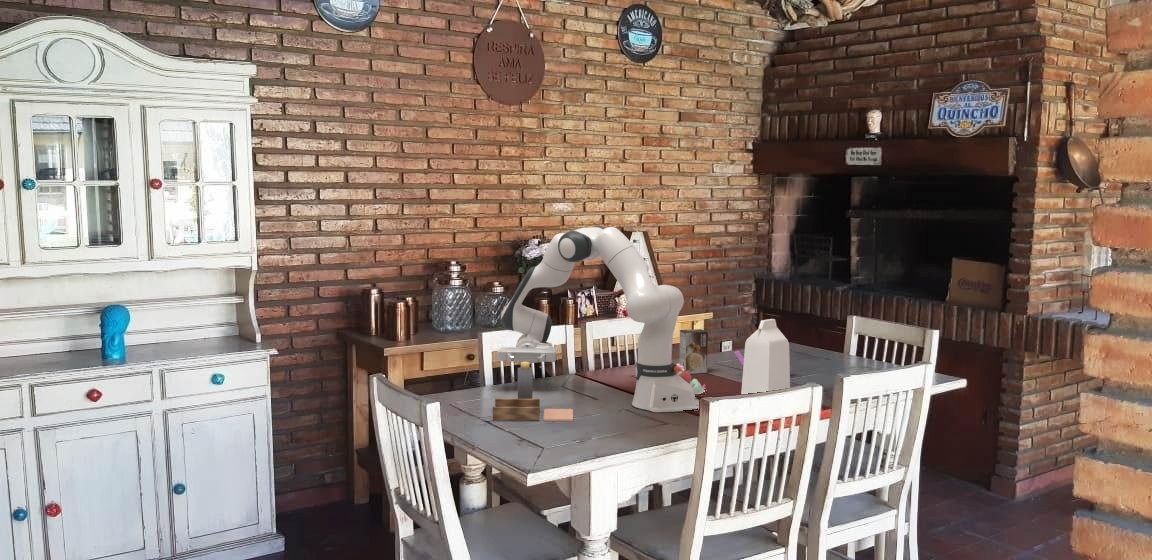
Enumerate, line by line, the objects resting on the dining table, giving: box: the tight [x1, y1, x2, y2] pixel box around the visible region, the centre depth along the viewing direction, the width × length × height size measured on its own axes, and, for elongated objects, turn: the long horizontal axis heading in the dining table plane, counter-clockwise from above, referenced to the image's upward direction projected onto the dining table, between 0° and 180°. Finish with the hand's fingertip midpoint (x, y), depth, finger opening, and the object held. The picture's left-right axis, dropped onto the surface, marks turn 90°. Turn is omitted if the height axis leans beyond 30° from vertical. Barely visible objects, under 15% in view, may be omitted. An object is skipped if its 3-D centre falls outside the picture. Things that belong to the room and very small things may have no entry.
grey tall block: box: [517, 362, 533, 399], centre depth 291 cm, size 5×5×14 cm
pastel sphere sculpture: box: [675, 363, 706, 395], centre depth 314 cm, size 25×24×9 cm
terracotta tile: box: [543, 408, 574, 422], centre depth 279 cm, size 9×12×1 cm
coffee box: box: [679, 328, 709, 375], centre depth 342 cm, size 9×6×16 cm
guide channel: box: [492, 398, 541, 422], centre depth 278 cm, size 14×11×4 cm
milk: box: [740, 318, 791, 395], centre depth 307 cm, size 12×12×26 cm
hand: (525, 359), depth 303 cm, fingers open, 8 cm apart
